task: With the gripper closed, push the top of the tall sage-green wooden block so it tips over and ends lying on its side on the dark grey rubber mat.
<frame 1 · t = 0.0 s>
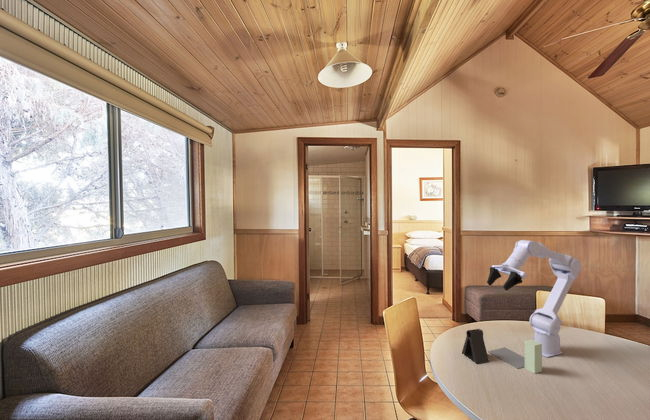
hand: (496, 286, 119), 32 cm above the table, tool tilted 50°, fingers open, 7 cm apart
phone stand: (475, 358, 125), on the table
mat: (511, 357, 124), on the table
sage block: (533, 369, 115), on the table
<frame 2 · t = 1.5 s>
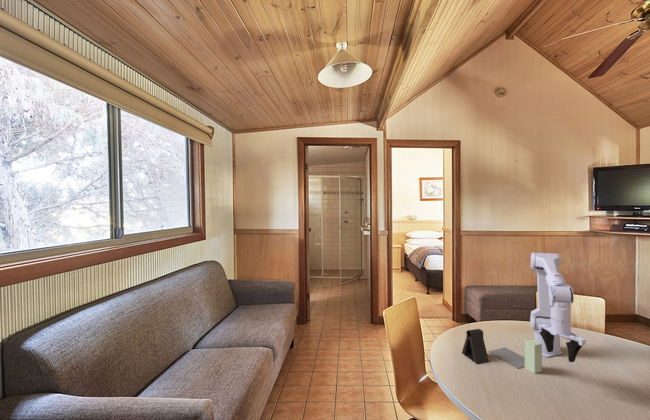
hand: (560, 356, 106), 10 cm above the table, tool pointing down, fingers open, 7 cm apart
nothing on the table moved.
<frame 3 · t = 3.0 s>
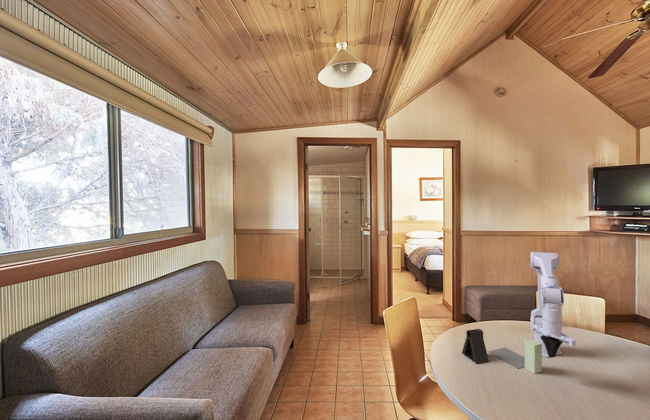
hand: (551, 356, 109), 9 cm above the table, tool pointing down, fingers closed
nothing on the table moved.
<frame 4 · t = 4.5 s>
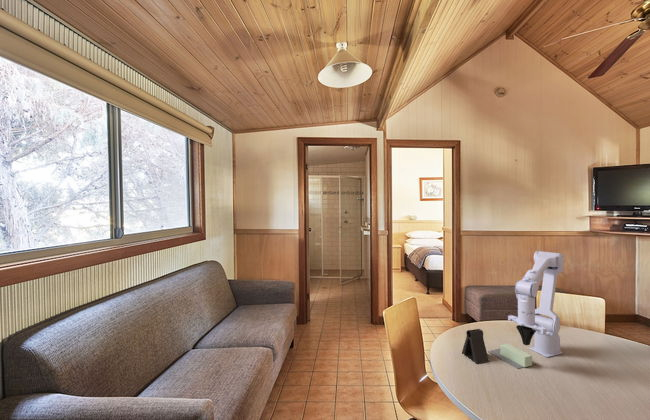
hand: (526, 344, 118), 9 cm above the table, tool pointing down, fingers closed
sage block: (528, 361, 117), point 2 cm above the table, tilted 90°, touching mat
everything else where it was.
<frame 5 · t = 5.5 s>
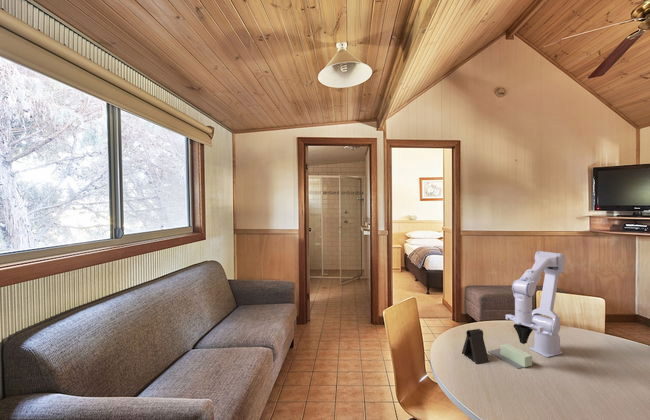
hand: (523, 342, 119), 9 cm above the table, tool pointing down, fingers closed
nothing on the table moved.
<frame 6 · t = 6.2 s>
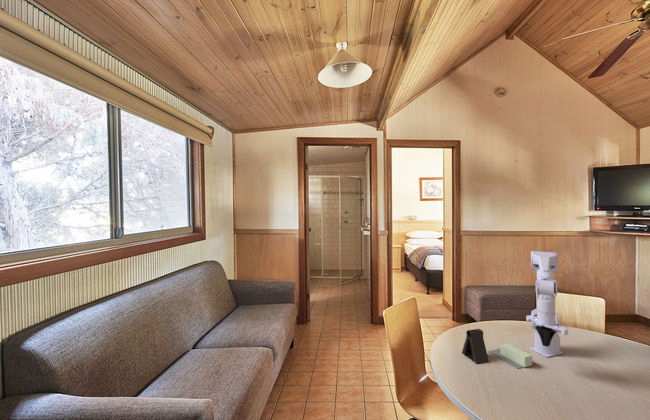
hand: (546, 345, 114), 10 cm above the table, tool pointing down, fingers closed
nothing on the table moved.
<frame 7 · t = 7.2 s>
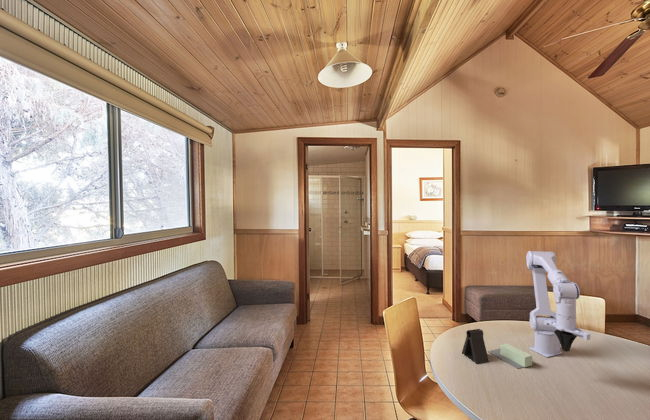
hand: (565, 350, 110), 10 cm above the table, tool pointing down, fingers closed
nothing on the table moved.
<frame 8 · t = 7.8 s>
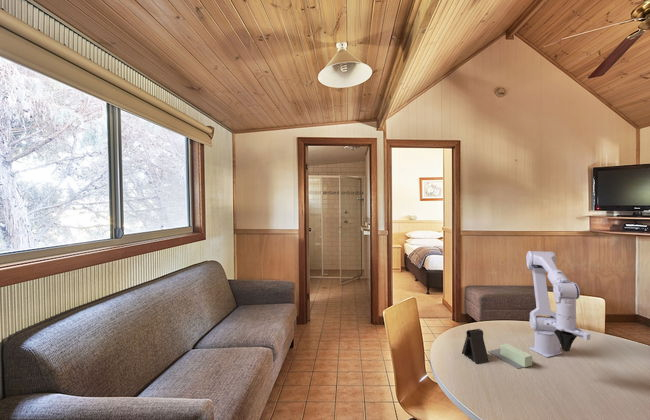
hand: (565, 350, 110), 10 cm above the table, tool pointing down, fingers closed
nothing on the table moved.
at the end: sage block tilted 90°; sage block inside the target area (4.1 cm from its centre), point 2.3 cm above the table; sage block touching mat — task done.
